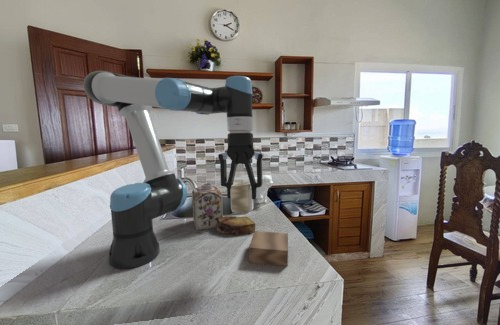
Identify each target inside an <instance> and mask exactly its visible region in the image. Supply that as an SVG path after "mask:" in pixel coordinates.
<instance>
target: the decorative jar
mask: <svg viewBox="0 0 500 325" xmlns="http://www.w3.org/2000/svg"><path fill="white" fill-rule="evenodd" d="M191 195H192V199H191V200H192V217H193V223H194V226H195V229H196V230H197V231H199V230H204V229H205V230H206V229H212V228H217V218H218V217H224V213H223V212H224V211H223V208H224V207H223V193H222V191H221V188H220V187H218V186H215V185H213V184H212V183H211V182H210V183H209V182H205V183H202V184H200V186H199V187H195V188H193V189H192V193H191Z"/></svg>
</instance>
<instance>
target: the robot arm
mask: <svg viewBox="0 0 500 325" xmlns="http://www.w3.org/2000/svg"><path fill="white" fill-rule="evenodd" d="M224 84H225V86H224V85H223V86H220V87H219V86H218V87H208V86H203V85H200V84H196V83H192V82H188V81H186V80H185V81H184V80H182V79H179V78H173V77H163V78H161V79H160V78H146V77H136V76H129V75H125V74H120V73H115V72H112V71H107V70H96V71H92V72H90V73H88V74H87V75H86V76H85V77H84V79H83V84H82V86H83V90H84V92H85V94H86V96H87V97H88V98H89V99H90V100H91V101H93V103H94V102H95V103H97V104H99V105H101V106H103V105H104V106H108V107H116V108H117V110H118V113H119V115H120V116H121V117H123V118H125V119H126V123H127V126H128V129H129V132H130V136H131V137H132V141H133V143H134V146H135V150H136V153H137V156H138V158H139V162H140V165H141V168H142V170H143V174H144V177H145V178H144V179H143V182H134V183H129V184H125V185H123V186H120V187H117V188H116V189H115V190H113V191H112V192H111V194H110V196H109V198H110V199H109V202H110V203H109V208H110V214H111V226H112V236H113V237H112V241H111V244H110V245H111V246H110V248H109V252H108V255H107V256H108V263H109V265H110V266H111V267H113V268H116V269H131V268H133V269H134V268H136V267H140V266H143V265H146V264H148V263H150V262H152V261H153V260H155V259H156V258H157V257H158V256H159V254H160V252H161V248H160V247H161V245H160V244H159V240H158V239H157V236H156V233H155V232H154V228H153V226H154V225H153V224H154V223H153V220H155V219H157V218H158V217H161V216H164V215H166V214H169V213H172V212H174V211H176V210H178V209H180V208H181V207H183V206H184V205H185V203H186V201H187V199H188V189H187V186H186V185H187V184H185V182H184V181H182V180H181V179H180V178H177V176H176V174H175V172H173V171H171V170H170V169H169V165H168V163H167V161H166V157H165V154H164V151H163V149H162V146H161V142H160V140H159V137H158V135H157V134H158V133H157V130H156V128H155V125H154V122H153V119H152V117H151V114H150V113H151V111H152V110H153V108H160V109H164V110H170V111H177V112H178V111H182V112H192V113H195V114H197V115H206V116H207V115H212V114H223V113H226V129H227V131H228V132H229V133H227V149H226V151H225V152H221V153H218V155H217V157H218V160H219V168H220V170H219V172H220V185H221V187H225V188H226V191H227V195H226V196H227V199H230V210H231V211H232V196H231V186H232V185H233V184H234V181H235V175H236V171H237V168H238V165H239V164H242V165H244V167H245V170H246V173H247V174H246V175H247V177H248V180H249V181H248V182H250V185H251V188H250V189H249V212H252V211H253V210H254V200H256V199H257V190H256V189H257V188H258V187H261V186H262V176H263V158H264V153H262V152H257V151H256V150H255V148H254V134H253V132H252V131H253V130H254V121H253V118H254V117H253V95H254V94H253V85H252V80H251V78H250V77H247V76H244V75H233V76H232V75H231V76H229V77H227V78H226V79H225V83H224ZM228 157H229V160H230V161H231V162H230V169H229V174H228V169H227V168H228V167H227V160H228ZM253 157H254V158H255V160H256V176H255V175H254V171H253V167H252V162H251V160H252V158H253ZM227 174H228V175H227ZM255 177H257V183H256V181H255Z"/></svg>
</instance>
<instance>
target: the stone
mask: <svg viewBox="0 0 500 325" xmlns="http://www.w3.org/2000/svg"><path fill="white" fill-rule="evenodd" d="M254 231H256V223H255V222H254V221H253V220H252V219H251V218H250V217H249V216H233V215H230V216H229V215H227V216H226V215H225V216H224V215H223V217H218V218H217V227H216V232H217V233H219V234H223V235H224V234H225V235H231V234H235V235H242V233H243V234H248V233H249V232H250V233H254ZM250 233H249V234H250Z"/></svg>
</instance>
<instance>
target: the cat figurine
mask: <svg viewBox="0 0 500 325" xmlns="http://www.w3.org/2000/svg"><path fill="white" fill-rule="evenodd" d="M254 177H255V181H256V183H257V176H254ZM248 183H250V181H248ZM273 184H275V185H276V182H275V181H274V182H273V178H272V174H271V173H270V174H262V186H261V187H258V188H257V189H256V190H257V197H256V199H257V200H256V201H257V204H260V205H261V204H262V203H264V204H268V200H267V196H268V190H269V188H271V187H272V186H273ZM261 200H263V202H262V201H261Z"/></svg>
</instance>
